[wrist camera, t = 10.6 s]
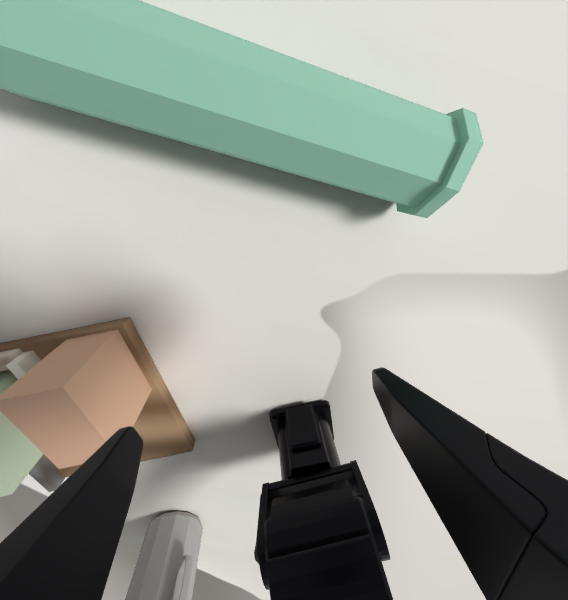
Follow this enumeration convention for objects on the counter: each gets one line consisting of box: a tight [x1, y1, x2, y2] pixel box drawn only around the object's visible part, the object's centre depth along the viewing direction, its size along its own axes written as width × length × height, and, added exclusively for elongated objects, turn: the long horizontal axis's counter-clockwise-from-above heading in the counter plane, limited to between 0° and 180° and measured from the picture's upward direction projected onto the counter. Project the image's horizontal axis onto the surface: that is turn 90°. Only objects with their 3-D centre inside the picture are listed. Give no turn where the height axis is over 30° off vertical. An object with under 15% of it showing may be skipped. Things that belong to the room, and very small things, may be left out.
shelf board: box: [0, 318, 195, 492], centre depth 22 cm, size 16×15×3 cm
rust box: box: [0, 329, 152, 469], centre depth 18 cm, size 4×6×6 cm, turn 10°
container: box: [0, 0, 483, 218], centre depth 13 cm, size 6×6×25 cm
